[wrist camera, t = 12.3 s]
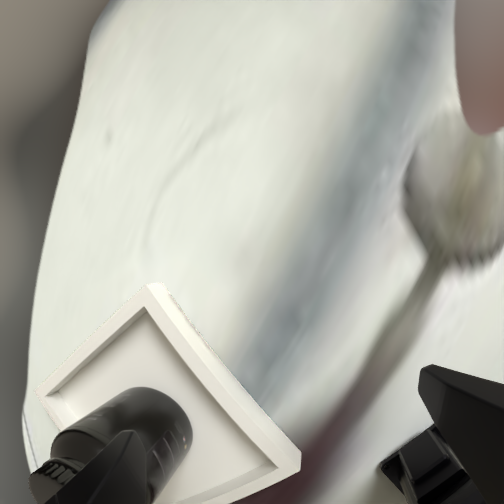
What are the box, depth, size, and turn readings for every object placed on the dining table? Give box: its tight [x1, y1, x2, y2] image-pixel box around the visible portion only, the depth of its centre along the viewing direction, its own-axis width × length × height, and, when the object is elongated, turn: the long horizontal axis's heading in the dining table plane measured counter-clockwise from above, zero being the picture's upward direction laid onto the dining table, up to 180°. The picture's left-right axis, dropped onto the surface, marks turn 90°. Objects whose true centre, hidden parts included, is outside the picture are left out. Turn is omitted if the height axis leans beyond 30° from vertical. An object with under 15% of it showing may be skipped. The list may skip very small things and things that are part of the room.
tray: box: [34, 283, 301, 504], centre depth 21 cm, size 16×16×2 cm
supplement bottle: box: [29, 387, 193, 504], centre depth 15 cm, size 7×7×12 cm
